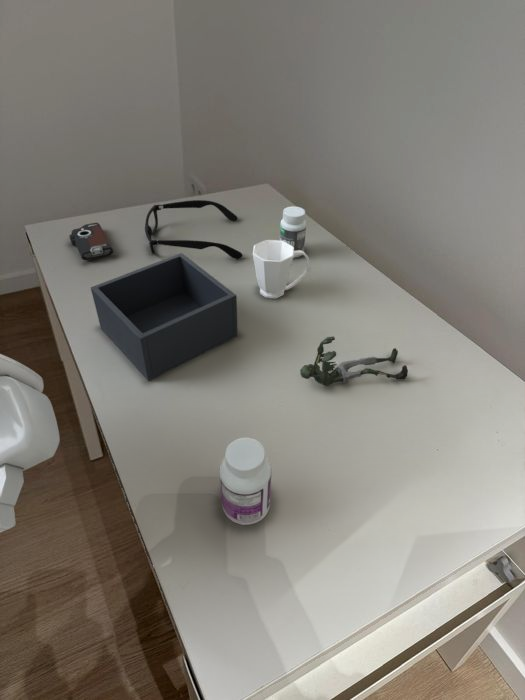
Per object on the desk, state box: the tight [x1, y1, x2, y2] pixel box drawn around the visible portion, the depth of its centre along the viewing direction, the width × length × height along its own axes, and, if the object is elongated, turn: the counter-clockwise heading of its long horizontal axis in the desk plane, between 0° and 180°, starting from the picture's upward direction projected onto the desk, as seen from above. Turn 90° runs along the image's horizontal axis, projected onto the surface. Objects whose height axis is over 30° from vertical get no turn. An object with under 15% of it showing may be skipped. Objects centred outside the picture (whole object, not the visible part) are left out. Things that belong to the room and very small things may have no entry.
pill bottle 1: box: [219, 437, 272, 526], centre depth 54 cm, size 5×5×10 cm
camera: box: [68, 222, 114, 261], centre depth 97 cm, size 6×3×11 cm
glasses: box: [144, 199, 244, 260], centre depth 99 cm, size 17×18×5 cm
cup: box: [252, 239, 311, 300], centre depth 86 cm, size 7×10×8 cm
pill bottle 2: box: [279, 205, 307, 259], centre depth 95 cm, size 5×5×8 cm
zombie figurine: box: [299, 335, 409, 386], centre depth 71 cm, size 5×7×15 cm
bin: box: [90, 252, 238, 382], centre depth 77 cm, size 16×15×8 cm
